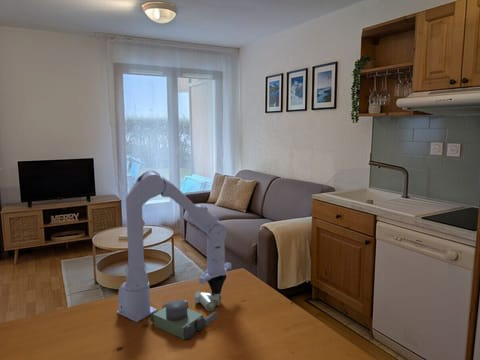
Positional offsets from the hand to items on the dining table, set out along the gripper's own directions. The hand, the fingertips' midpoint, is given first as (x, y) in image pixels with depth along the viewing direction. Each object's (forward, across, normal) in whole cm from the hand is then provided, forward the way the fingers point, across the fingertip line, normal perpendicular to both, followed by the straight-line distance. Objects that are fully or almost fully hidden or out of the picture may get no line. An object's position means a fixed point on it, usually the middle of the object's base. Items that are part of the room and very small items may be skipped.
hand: (216, 296), depth 117 cm
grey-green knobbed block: (+1, -15, 0) cm, 15 cm away
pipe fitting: (+2, -5, 0) cm, 5 cm away
